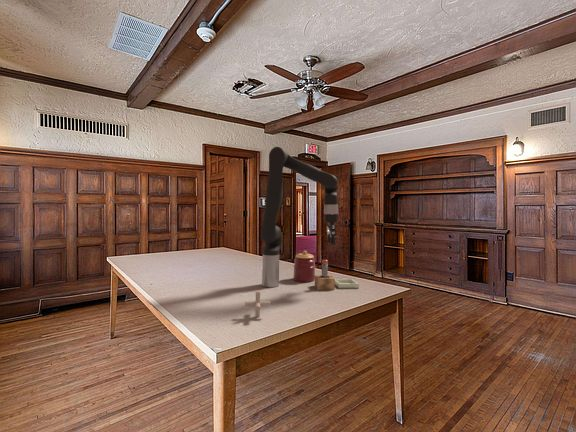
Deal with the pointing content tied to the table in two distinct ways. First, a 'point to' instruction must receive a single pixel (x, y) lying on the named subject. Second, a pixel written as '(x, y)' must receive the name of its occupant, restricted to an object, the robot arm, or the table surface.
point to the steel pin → (324, 268)
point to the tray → (346, 283)
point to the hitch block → (324, 282)
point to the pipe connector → (257, 304)
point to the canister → (304, 267)
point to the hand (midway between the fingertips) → (331, 243)
